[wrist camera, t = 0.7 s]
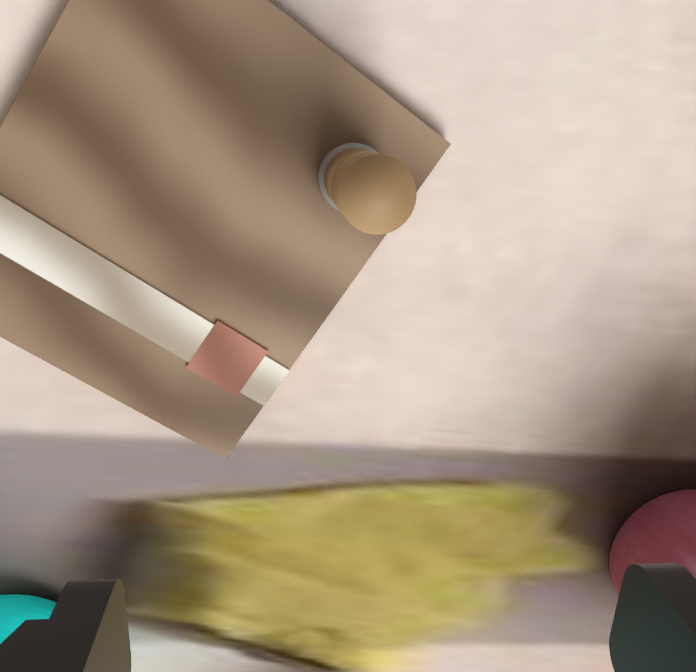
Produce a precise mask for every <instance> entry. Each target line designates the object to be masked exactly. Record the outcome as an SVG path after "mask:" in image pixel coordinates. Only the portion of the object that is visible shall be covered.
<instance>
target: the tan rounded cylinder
mask: <svg viewBox="0 0 696 672" xmlns="http://www.w3.org/2000/svg"><path fill="white" fill-rule="evenodd" d="M318 182H319V187H320V190H321V192H322V194H323V196H324V197H325V199H326V200H327V202H328V203H329V204H330V205H331V206H332V207H333V208H335V209H336V210H338V211H340V212H341V213H342V214H343V215H344V217H345V218H346V219H347V221H348V222H349V223H350V224H351V225H352V226H353V227H355V228H356V229H358V230H359V231H362V232H364V233H367V234H373V235H380V234H386V233H389V232H392V231H394V230H396V229H397V228H399V227H400V226H402V225H403V224H404V223H405V222H406V220H407V219H408V218H409V216H410V215H411V213H412V211H413V209H414V206H415V202H416V185H415V182H414V179H413V176H412V174H411V173H410V171H409V170H408V169H407V167H406V166H405V165H404V164H403V163H401V162H400V161H398V160H397V159H395V158H393V157H390V156H386V155H383V154H379V153H378V152H377V151H376V150H374V149H373V148H371V147H369V146H367V145H364V144H360V143H351V142H350V143H344V144H341V145H338V146H336V147H334V148H333V149H332V150H330V151H329V152H328V153H327V154H326V156H325V157H324V159H323V160H322V162H321V165H320V168H319V173H318Z"/></svg>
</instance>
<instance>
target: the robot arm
mask: <svg viewBox="0 0 696 672" xmlns="http://www.w3.org/2000/svg"><path fill="white" fill-rule="evenodd" d="M609 649H610V656H611V661H612V665H613V668H614V671H615V672H696V579H695V578H694V577H693V575H692V574H691V573H690V572H689V571H688V570H687V569H686V568H685V567H684V566H682V565H681V564H678V563H652V564H632V565H630V566H628V567H627V568H626V570H625V573H624V576H623V580H622V584H621V589H620V593H619V598H618V602H617V606H616V611H615V615H614V620H613V624H612V628H611V633H610V639H609ZM0 672H131V652H130V641H129V631H128V621H127V611H126V601H125V591H124V585H123V582H122V580H121V579H107V580H76V581H69V582H68V583H67V584H66V585H65V586H64V588H63V590H62V592H61V594H60V596H59V599H58V601H57V603H56V605H55V607H54V609H53V611H52V614H51V616H50V618H49V619H34V620H25V621H24V622H23V623H22V624H21V625H20V626H19V627H18V628H17V629H16V630H15V631H14V632H13V633H11V634H10V635H9V636H8V637H7V638H6V639H5V640H4V641H3V642H2V643H1V644H0Z"/></svg>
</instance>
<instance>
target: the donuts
mask: <svg viewBox="0 0 696 672" xmlns="http://www.w3.org/2000/svg"><path fill="white" fill-rule="evenodd" d="M55 605H56V602H54V601H51V600H48V599H45V598H41V597H37V596H31V595H21V594H6V595H0V644H1V643H2V642H3V641H4V640H5V639H6V638H7V637H8V636H9V635H10V634H11V633H13V632H14V631H15V630H16V629H17V628H18V627H19V626H20V625H21V624H22V623H23V622H24V621H25V620H34V619H49V618H50V616H51V614H52V611H53V609H54V607H55Z"/></svg>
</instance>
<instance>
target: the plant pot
mask: <svg viewBox="0 0 696 672" xmlns="http://www.w3.org/2000/svg"><path fill="white" fill-rule="evenodd" d="M652 563H678V564H681V565H682V566H684V567H685V568H686V569H687V570H688V571H689V572H690V573H691V574H692V575H693V577H694V578H695V579H696V489H686V490H679V491H674V492H670V493H667V494H664V495H661V496H659V497H657V498H655V499H653V500H651V501H649V502H647V503H646V504H644V505H643V506H642V507H640V508H639V509H638V510H636V511H635V512H634V513H633V514H632V515H631V516H630V517H629V518H628V519H627V520H626V521H625V523H624V524H623V525H622V527H621V528H620V530H619V531H618V533H617V535H616V537H615V539H614V541H613V544H612V547H611V551H610V557H609V569H610V574H611V578H612V581H613V583H614V586H615V588H616V591H617V593H618V596H619V593H620V589H621V584H622V580H623V576H624V573H625V570H626V568H627V567H628V566H630V565H632V564H652Z"/></svg>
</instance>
